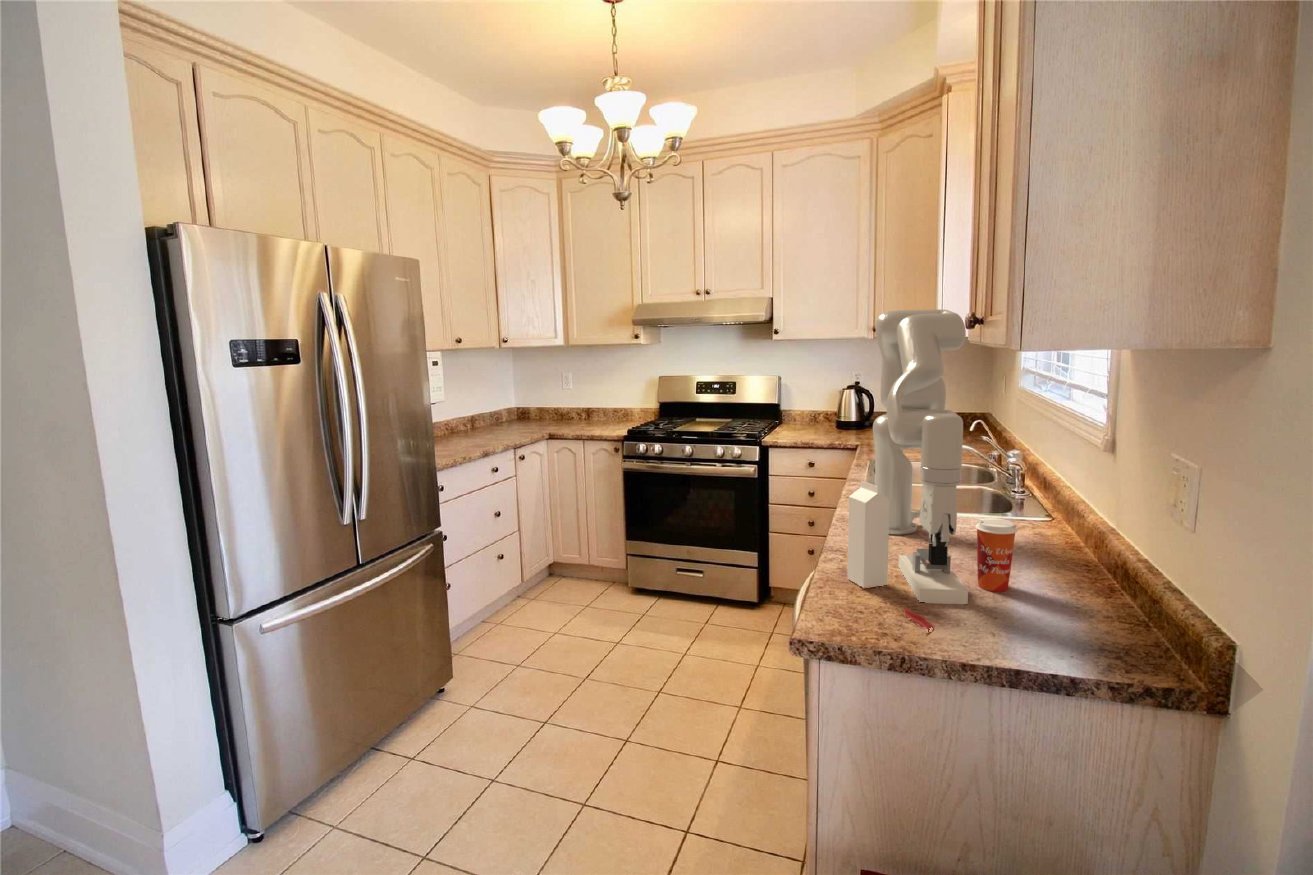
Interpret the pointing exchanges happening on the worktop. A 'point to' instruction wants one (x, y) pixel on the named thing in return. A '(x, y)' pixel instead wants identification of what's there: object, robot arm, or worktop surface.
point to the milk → (868, 536)
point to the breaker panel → (932, 581)
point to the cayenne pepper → (918, 619)
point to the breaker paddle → (924, 558)
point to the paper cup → (994, 553)
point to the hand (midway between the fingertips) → (937, 563)
